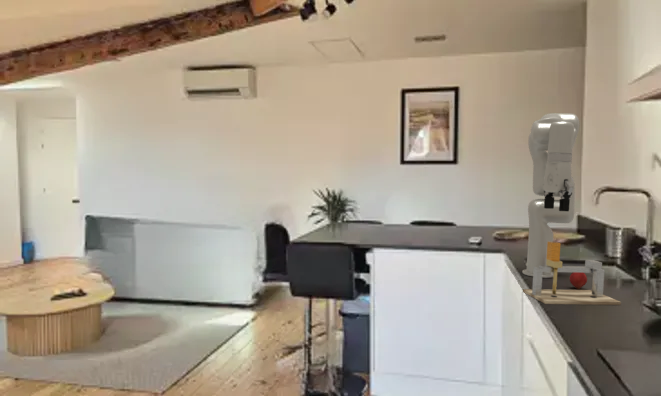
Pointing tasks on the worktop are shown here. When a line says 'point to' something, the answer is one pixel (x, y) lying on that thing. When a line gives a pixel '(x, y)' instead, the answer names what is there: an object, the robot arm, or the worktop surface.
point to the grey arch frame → (590, 267)
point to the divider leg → (554, 261)
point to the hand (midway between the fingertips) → (556, 209)
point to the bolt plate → (572, 297)
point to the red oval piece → (578, 279)
